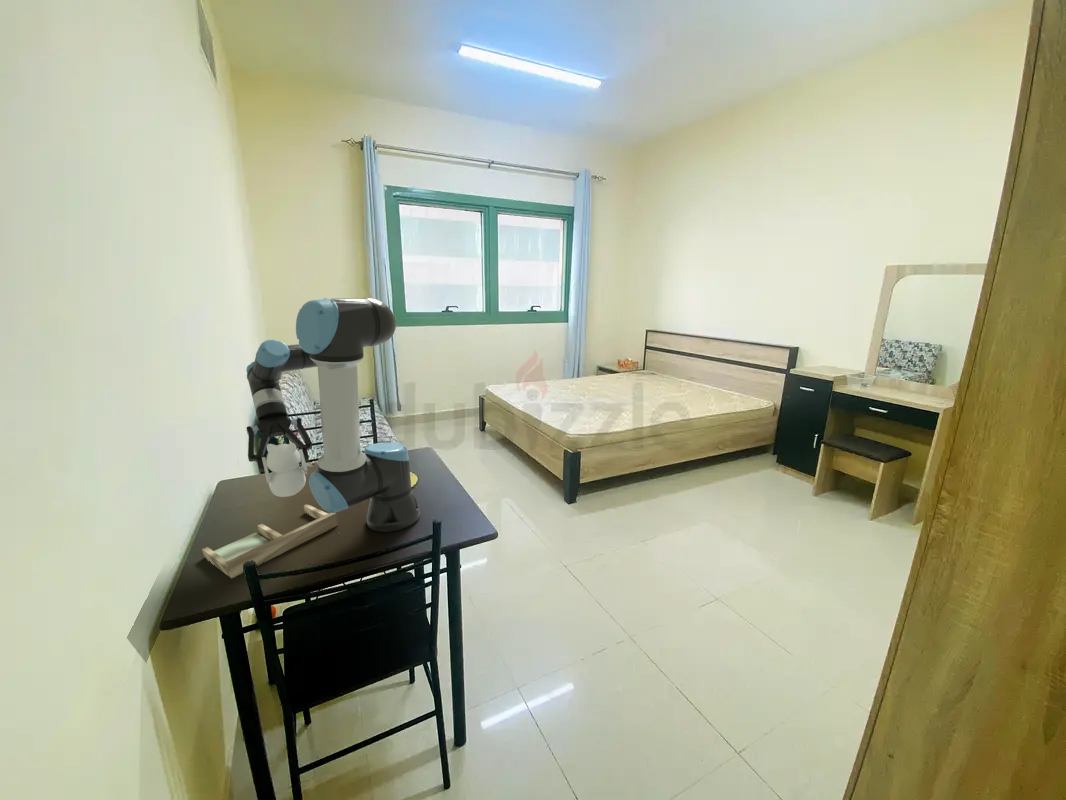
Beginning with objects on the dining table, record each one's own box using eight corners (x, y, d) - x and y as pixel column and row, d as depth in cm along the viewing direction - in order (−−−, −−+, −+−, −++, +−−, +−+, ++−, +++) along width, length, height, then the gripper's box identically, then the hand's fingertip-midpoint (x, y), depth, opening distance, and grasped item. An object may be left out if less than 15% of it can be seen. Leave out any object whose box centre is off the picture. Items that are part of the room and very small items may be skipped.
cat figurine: (263, 502, 113) (256, 449, 109) (280, 482, 124) (274, 434, 121) (300, 499, 114) (294, 447, 111) (313, 480, 126) (308, 432, 123)
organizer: (337, 525, 123) (336, 513, 122) (231, 578, 101) (228, 564, 100) (307, 510, 132) (305, 499, 131) (202, 556, 109) (199, 543, 108)
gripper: (309, 408, 133) (328, 471, 124) (228, 421, 120) (242, 492, 112) (310, 394, 127) (330, 460, 119) (224, 407, 115) (240, 481, 106)
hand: (287, 476), depth 115 cm, fingers closed on cat figurine, 8 cm apart
